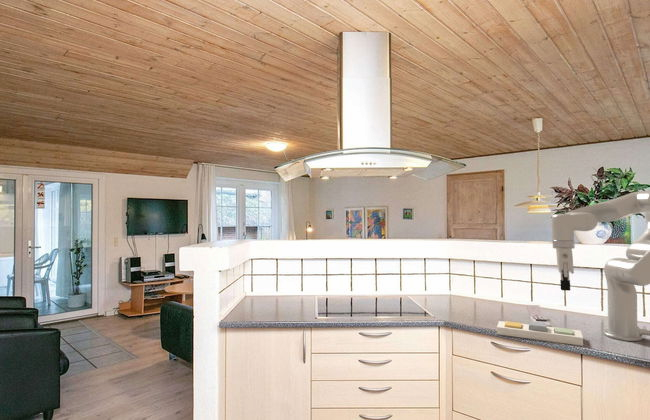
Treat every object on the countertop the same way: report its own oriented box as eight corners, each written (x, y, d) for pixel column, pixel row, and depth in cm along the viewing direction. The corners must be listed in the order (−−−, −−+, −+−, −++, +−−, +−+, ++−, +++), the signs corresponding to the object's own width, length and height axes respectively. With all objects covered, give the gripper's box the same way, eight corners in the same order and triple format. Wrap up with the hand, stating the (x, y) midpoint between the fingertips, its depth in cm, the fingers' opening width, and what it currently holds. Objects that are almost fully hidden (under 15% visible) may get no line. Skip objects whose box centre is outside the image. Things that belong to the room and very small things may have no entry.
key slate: (546, 329, 160) (546, 322, 160) (546, 333, 155) (546, 326, 155) (529, 327, 163) (529, 321, 163) (529, 330, 158) (529, 324, 158)
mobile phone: (539, 304, 188) (552, 318, 164) (539, 317, 187) (553, 332, 164) (525, 304, 189) (536, 317, 166) (525, 316, 189) (537, 331, 165)
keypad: (580, 338, 156) (580, 330, 156) (583, 345, 147) (583, 337, 147) (499, 327, 170) (499, 320, 170) (496, 334, 162) (496, 327, 162)
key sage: (572, 335, 156) (572, 329, 156) (573, 339, 150) (573, 333, 150) (554, 333, 158) (554, 326, 158) (555, 337, 153) (555, 331, 153)
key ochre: (521, 328, 164) (521, 323, 164) (521, 332, 159) (521, 326, 159) (506, 327, 167) (506, 321, 167) (505, 330, 162) (505, 324, 162)
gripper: (576, 246, 148) (578, 294, 148) (572, 242, 161) (574, 286, 161) (553, 246, 151) (555, 293, 151) (551, 242, 164) (553, 285, 164)
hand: (565, 289), depth 156 cm, fingers closed
